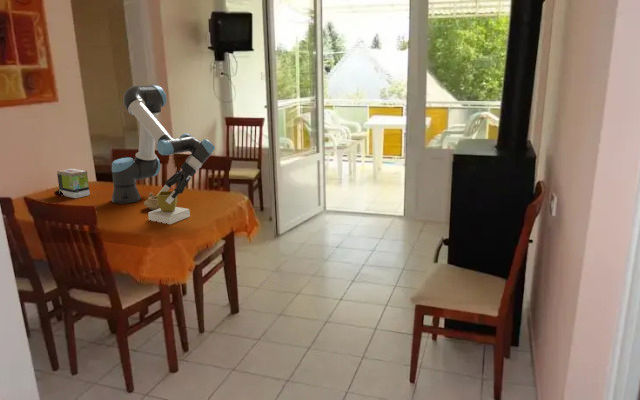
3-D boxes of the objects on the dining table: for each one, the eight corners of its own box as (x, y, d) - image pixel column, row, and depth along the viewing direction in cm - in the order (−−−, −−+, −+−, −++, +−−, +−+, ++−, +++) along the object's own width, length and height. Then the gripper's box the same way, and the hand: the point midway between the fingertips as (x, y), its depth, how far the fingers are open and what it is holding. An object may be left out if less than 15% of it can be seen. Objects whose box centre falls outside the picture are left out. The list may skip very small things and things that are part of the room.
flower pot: (161, 208, 256) (160, 191, 253) (179, 207, 257) (177, 190, 254) (158, 213, 247) (156, 195, 245) (176, 212, 248) (174, 195, 246)
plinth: (148, 220, 250) (148, 212, 249) (168, 212, 262) (168, 205, 261) (170, 224, 244) (169, 216, 243) (189, 216, 256) (189, 209, 255)
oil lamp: (158, 214, 260) (157, 199, 258) (139, 209, 268) (138, 195, 265) (174, 209, 268) (173, 194, 266) (156, 204, 276) (155, 190, 274)
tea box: (90, 195, 295) (87, 170, 291) (74, 199, 287) (71, 173, 283) (75, 191, 303) (72, 167, 299) (59, 195, 294) (55, 170, 290)
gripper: (205, 175, 245) (177, 210, 241) (188, 166, 265) (161, 198, 261) (194, 166, 241) (165, 200, 237) (177, 157, 261) (150, 189, 257)
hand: (163, 199), depth 249 cm, fingers open, 13 cm apart
